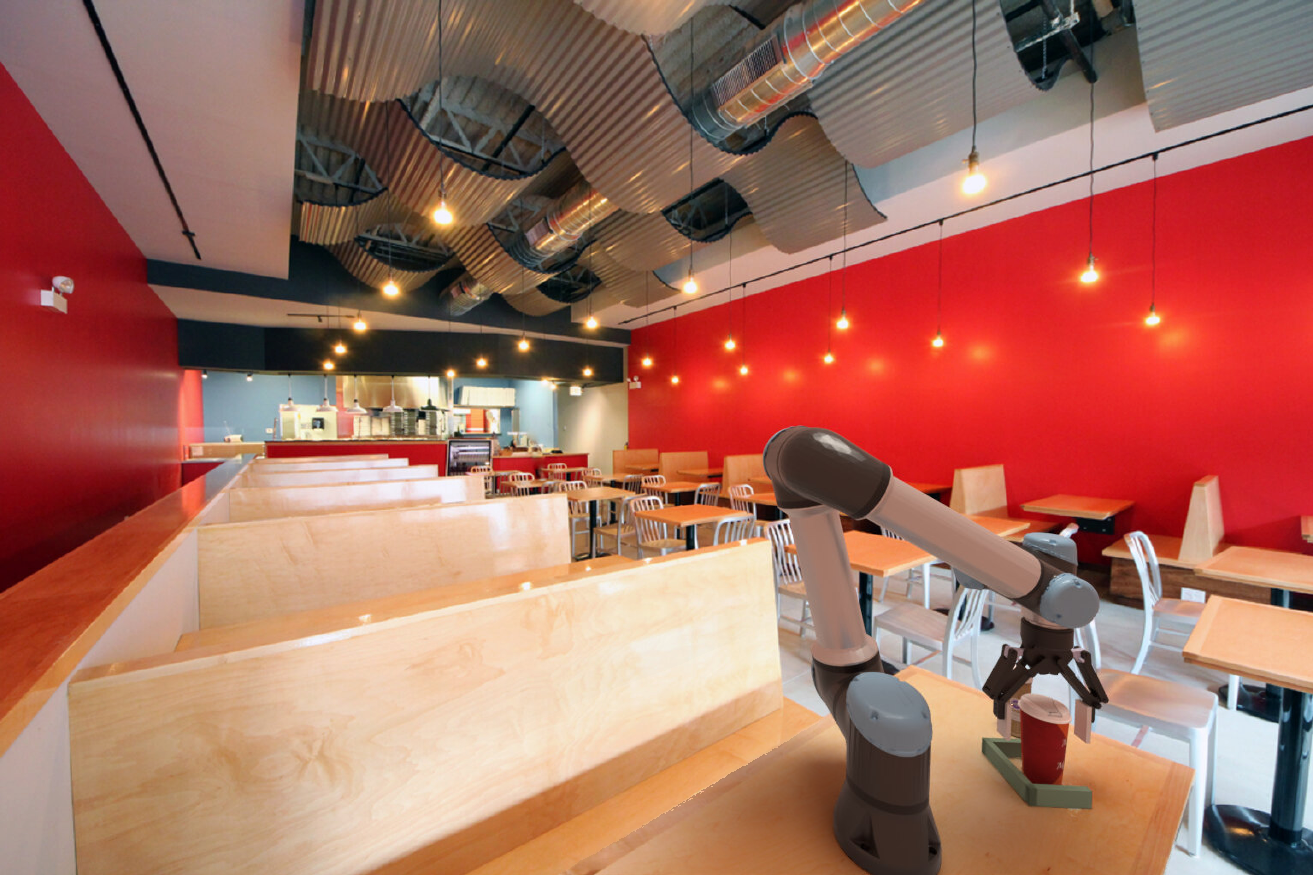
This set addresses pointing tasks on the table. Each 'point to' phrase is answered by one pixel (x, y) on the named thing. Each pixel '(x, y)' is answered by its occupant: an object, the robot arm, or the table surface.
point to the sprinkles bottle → (1016, 709)
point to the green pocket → (1031, 793)
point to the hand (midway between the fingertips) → (1042, 737)
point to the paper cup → (1043, 738)
